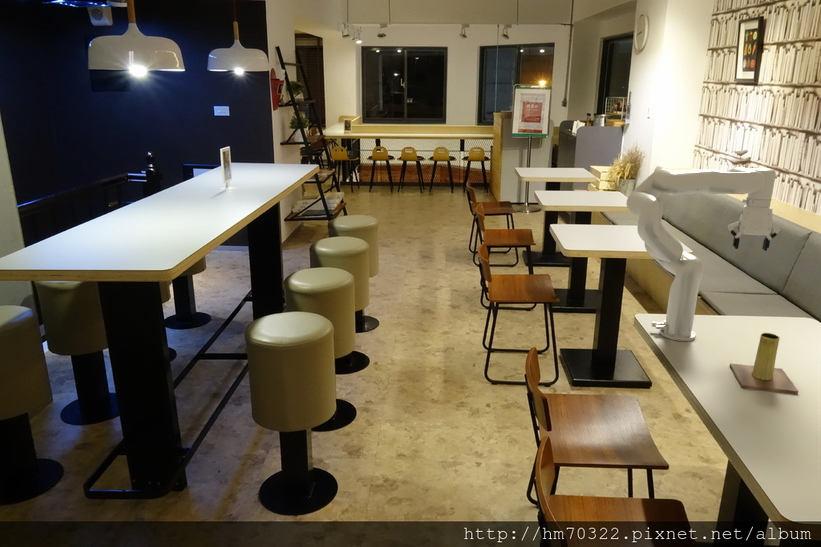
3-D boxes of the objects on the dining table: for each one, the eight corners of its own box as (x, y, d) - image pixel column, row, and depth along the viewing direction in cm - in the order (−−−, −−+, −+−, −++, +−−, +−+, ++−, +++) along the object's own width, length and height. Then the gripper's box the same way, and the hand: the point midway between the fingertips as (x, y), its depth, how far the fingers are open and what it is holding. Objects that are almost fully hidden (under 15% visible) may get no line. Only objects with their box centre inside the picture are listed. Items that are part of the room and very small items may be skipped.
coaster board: (741, 387, 198) (742, 385, 197) (729, 366, 213) (730, 363, 212) (797, 394, 194) (798, 391, 194) (781, 371, 209) (782, 368, 209)
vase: (775, 381, 200) (784, 340, 195) (754, 379, 201) (762, 338, 197) (769, 373, 206) (777, 333, 201) (749, 371, 207) (756, 331, 202)
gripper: (734, 203, 223) (727, 249, 228) (788, 206, 219) (779, 253, 225) (729, 199, 230) (722, 244, 235) (781, 202, 226) (772, 248, 232)
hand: (750, 248), depth 230 cm, fingers open, 9 cm apart
